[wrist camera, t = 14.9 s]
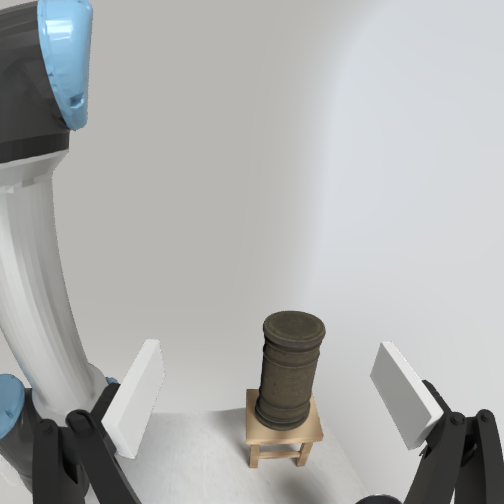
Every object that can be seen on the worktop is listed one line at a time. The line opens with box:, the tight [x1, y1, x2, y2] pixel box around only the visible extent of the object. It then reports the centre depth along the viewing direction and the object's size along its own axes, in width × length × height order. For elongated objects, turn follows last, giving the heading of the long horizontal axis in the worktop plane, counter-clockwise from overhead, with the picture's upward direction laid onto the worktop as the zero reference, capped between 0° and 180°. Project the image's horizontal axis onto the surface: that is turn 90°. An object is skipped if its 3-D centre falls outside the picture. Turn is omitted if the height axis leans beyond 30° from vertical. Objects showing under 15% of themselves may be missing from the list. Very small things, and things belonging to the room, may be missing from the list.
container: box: [255, 311, 326, 431], centre depth 37 cm, size 9×9×18 cm
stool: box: [246, 389, 323, 468], centre depth 41 cm, size 12×12×12 cm
